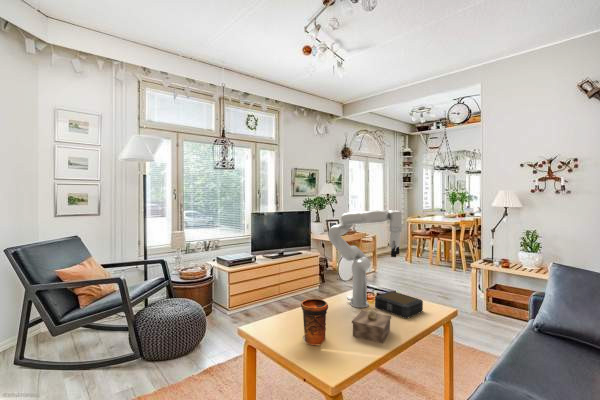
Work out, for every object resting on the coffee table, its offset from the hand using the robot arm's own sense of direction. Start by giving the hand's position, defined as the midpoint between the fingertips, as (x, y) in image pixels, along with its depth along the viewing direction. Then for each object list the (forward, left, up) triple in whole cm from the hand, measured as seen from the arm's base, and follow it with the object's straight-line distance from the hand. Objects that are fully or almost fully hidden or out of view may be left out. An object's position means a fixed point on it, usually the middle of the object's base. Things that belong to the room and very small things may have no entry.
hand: (395, 255), depth 199 cm
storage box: (-4, -40, -37) cm, 54 cm away
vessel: (-29, -60, -37) cm, 76 cm away
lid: (-4, -40, -29) cm, 49 cm away
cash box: (+1, +5, -37) cm, 38 cm away
